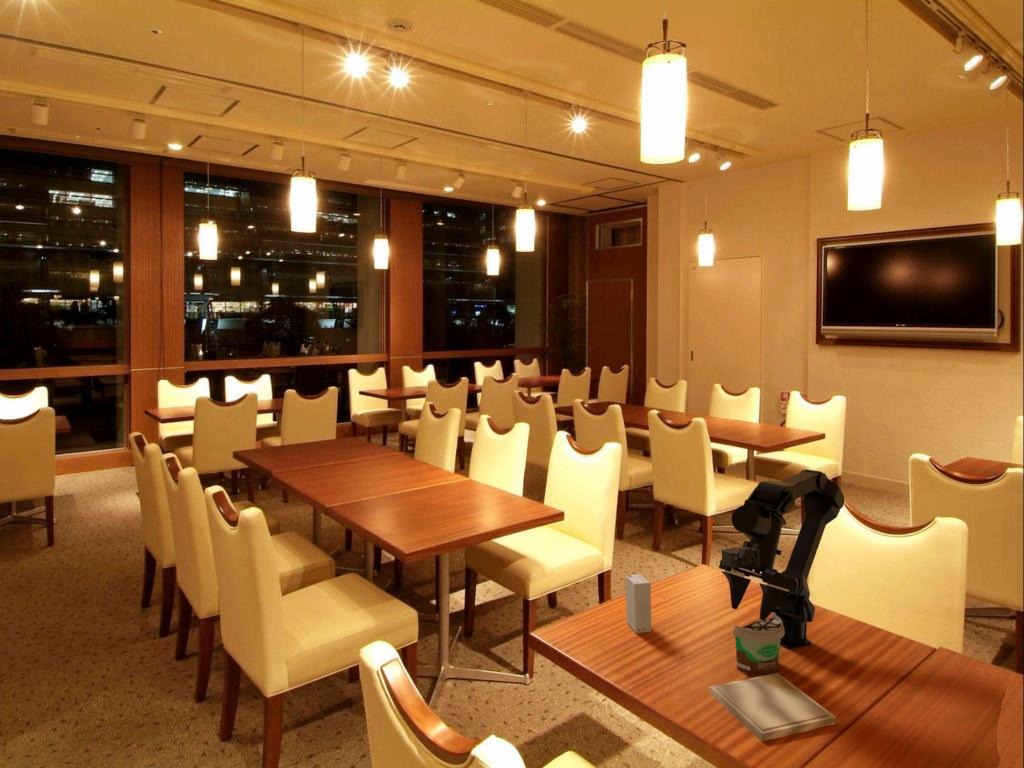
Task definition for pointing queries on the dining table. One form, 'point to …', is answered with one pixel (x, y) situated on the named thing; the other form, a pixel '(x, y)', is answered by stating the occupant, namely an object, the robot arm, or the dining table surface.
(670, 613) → the dining table surface
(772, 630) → the food container
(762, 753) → the dining table surface
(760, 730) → the serving board
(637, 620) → the skincare box
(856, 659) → the dining table surface
